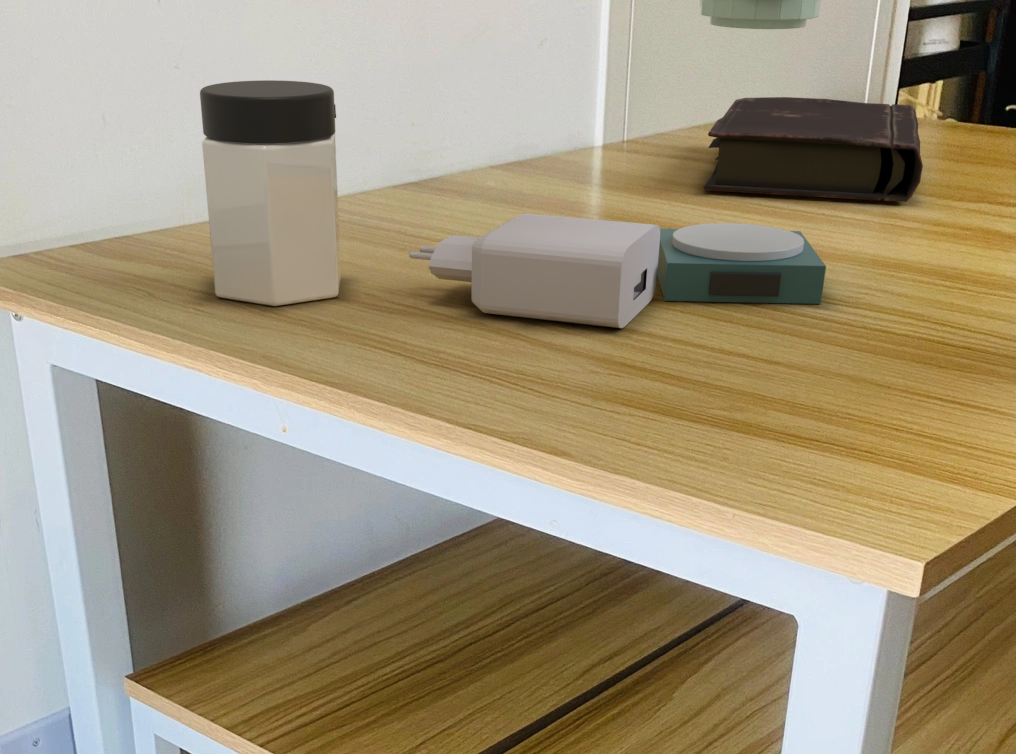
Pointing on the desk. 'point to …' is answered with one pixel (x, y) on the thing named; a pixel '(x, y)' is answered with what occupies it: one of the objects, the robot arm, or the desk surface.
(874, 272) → the desk surface
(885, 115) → the diary
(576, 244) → the charger
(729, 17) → the cup
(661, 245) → the scale
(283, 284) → the jar
